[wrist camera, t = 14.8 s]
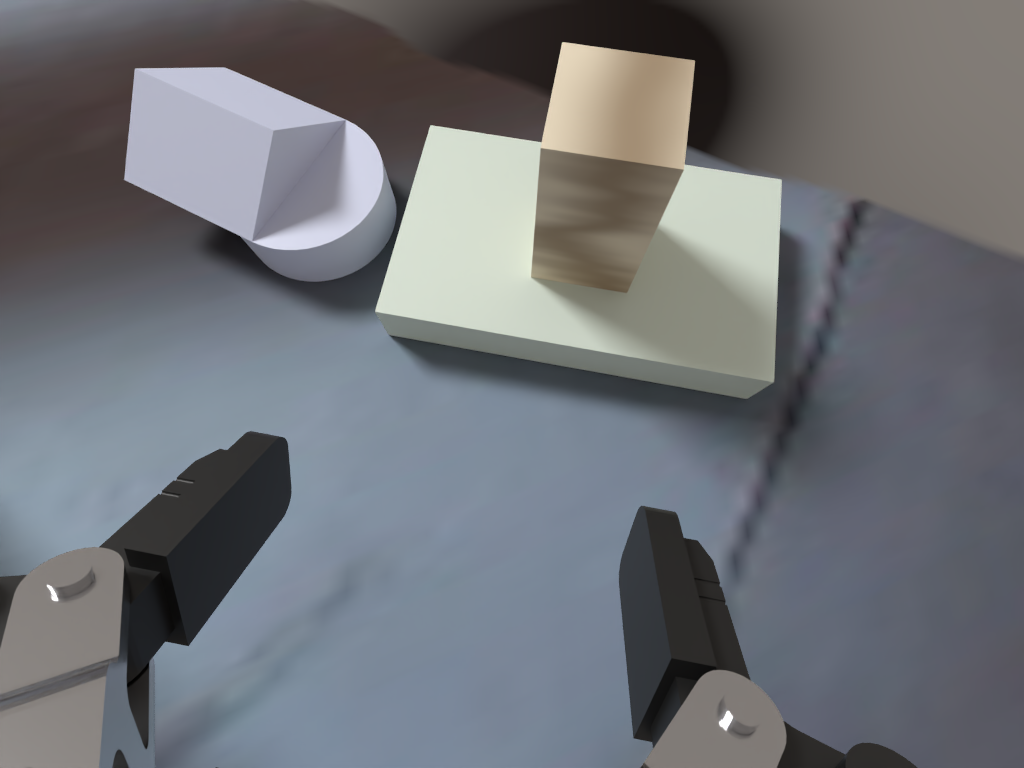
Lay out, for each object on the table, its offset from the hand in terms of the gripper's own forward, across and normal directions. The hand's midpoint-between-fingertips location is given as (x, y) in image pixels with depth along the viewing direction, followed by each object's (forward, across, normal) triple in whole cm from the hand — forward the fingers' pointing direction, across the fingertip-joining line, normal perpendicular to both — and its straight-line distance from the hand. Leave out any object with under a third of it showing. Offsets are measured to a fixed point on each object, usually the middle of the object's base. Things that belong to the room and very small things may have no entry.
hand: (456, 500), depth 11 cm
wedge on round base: (+23, +15, -1) cm, 27 cm away
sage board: (+21, -3, 0) cm, 21 cm away
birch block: (+19, -3, -2) cm, 19 cm away
